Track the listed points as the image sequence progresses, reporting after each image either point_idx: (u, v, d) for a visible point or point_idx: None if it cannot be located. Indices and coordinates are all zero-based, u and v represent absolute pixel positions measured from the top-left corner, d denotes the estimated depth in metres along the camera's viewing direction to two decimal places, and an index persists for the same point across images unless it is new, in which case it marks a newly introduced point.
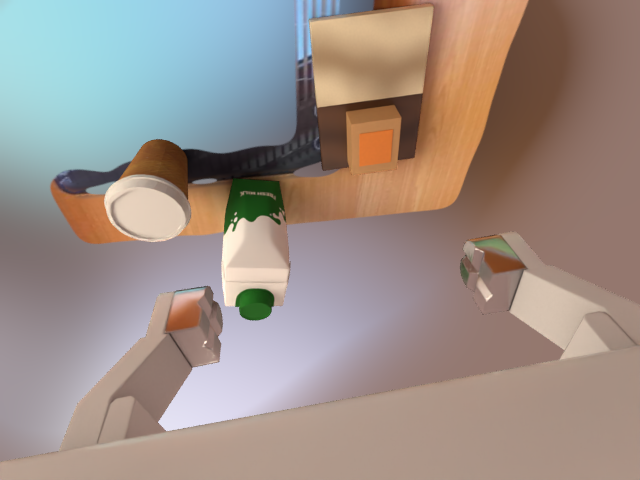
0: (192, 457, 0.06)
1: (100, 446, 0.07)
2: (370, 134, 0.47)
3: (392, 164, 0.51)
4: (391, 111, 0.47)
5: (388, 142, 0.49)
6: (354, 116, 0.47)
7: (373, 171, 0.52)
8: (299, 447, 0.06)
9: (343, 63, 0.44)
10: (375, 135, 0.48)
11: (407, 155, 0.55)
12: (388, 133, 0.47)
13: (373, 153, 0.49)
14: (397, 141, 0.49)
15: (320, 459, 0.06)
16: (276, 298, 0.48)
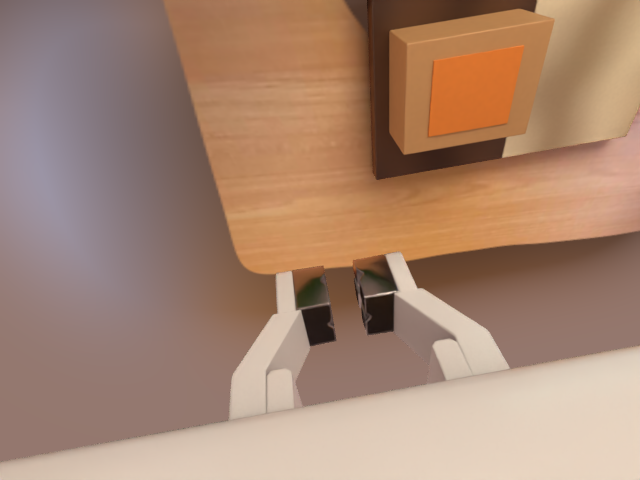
0: (192, 458, 0.06)
1: (100, 446, 0.07)
2: (511, 73, 0.21)
3: (419, 142, 0.23)
4: None
5: (477, 121, 0.22)
6: None
7: (409, 101, 0.21)
8: (299, 447, 0.06)
9: None
10: (505, 86, 0.21)
11: (384, 165, 0.28)
12: (502, 115, 0.22)
13: (461, 91, 0.21)
14: (475, 139, 0.23)
15: (320, 459, 0.06)
16: None
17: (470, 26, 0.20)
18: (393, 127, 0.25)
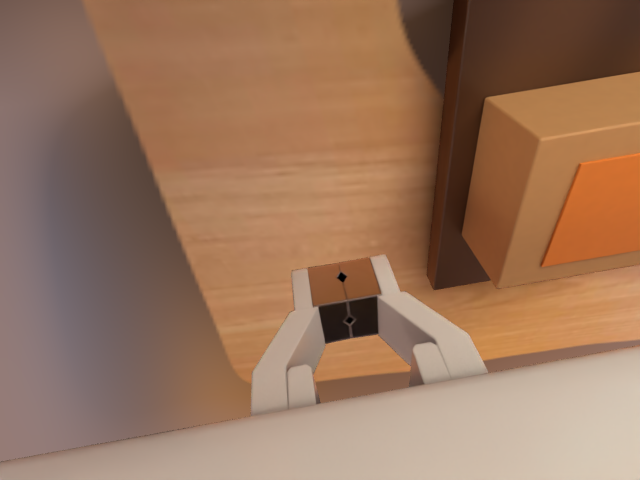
0: (192, 457, 0.06)
1: (100, 446, 0.07)
2: None
3: (525, 273, 0.14)
4: None
5: (624, 243, 0.14)
6: None
7: (522, 222, 0.12)
8: (299, 447, 0.06)
9: None
10: None
11: (447, 274, 0.19)
12: None
13: (613, 206, 0.12)
14: (612, 265, 0.14)
15: (320, 459, 0.06)
16: None
17: None
18: (474, 236, 0.16)
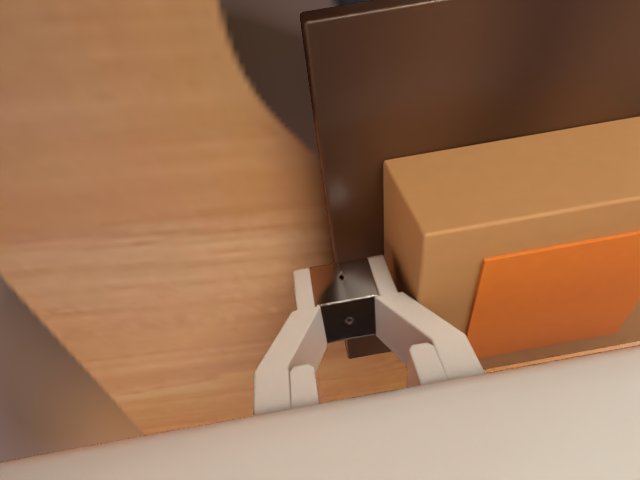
0: (192, 458, 0.06)
1: (100, 446, 0.07)
2: None
3: None
4: None
5: (559, 333, 0.11)
6: None
7: None
8: (299, 447, 0.06)
9: None
10: (629, 285, 0.10)
11: (360, 343, 0.16)
12: (611, 324, 0.11)
13: (536, 300, 0.10)
14: (549, 354, 0.12)
15: (320, 459, 0.06)
16: None
17: (565, 175, 0.09)
18: None
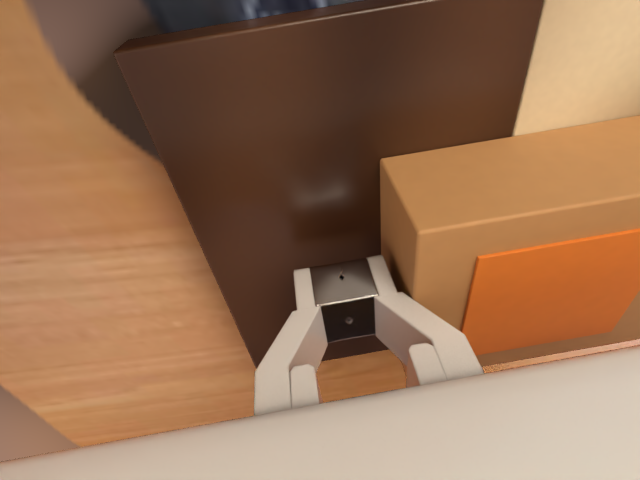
0: (191, 458, 0.06)
1: (100, 446, 0.07)
2: None
3: None
4: None
5: (554, 331, 0.11)
6: None
7: None
8: (299, 447, 0.06)
9: None
10: (623, 283, 0.10)
11: None
12: (606, 322, 0.11)
13: (531, 298, 0.10)
14: (544, 352, 0.12)
15: (320, 459, 0.06)
16: None
17: (559, 174, 0.09)
18: None
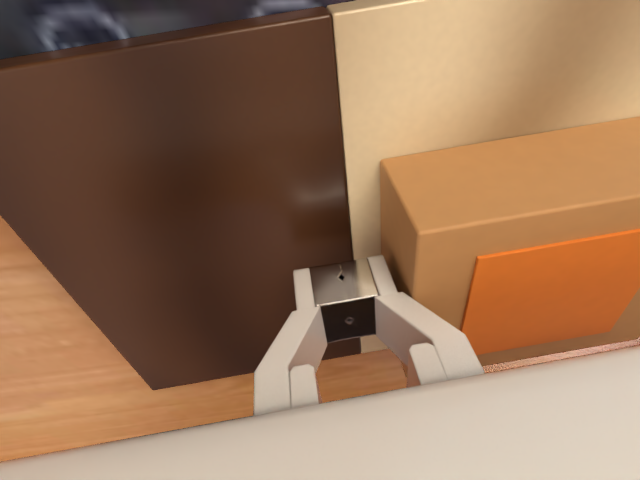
0: (191, 458, 0.06)
1: (100, 446, 0.07)
2: (638, 265, 0.10)
3: None
4: None
5: (552, 331, 0.11)
6: None
7: None
8: (299, 447, 0.06)
9: (519, 128, 0.11)
10: (622, 283, 0.10)
11: (155, 376, 0.16)
12: (604, 322, 0.11)
13: (529, 298, 0.10)
14: (543, 352, 0.12)
15: (320, 459, 0.06)
16: None
17: (558, 175, 0.09)
18: None
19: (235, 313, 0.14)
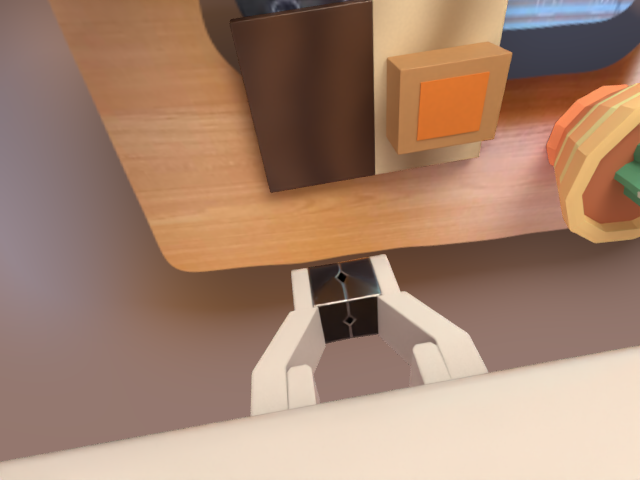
0: (192, 458, 0.06)
1: (100, 446, 0.07)
2: (480, 92, 0.27)
3: (410, 145, 0.29)
4: None
5: (455, 128, 0.29)
6: None
7: (402, 113, 0.27)
8: (299, 447, 0.06)
9: (439, 45, 0.28)
10: (477, 102, 0.27)
11: (274, 181, 0.33)
12: (475, 124, 0.28)
13: (442, 105, 0.27)
14: (454, 142, 0.29)
15: (320, 459, 0.06)
16: None
17: (449, 56, 0.26)
18: (389, 132, 0.31)
19: (319, 139, 0.31)
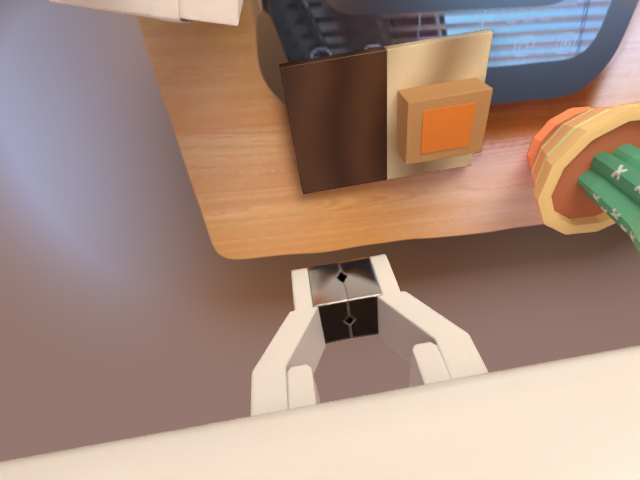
0: (191, 457, 0.06)
1: (100, 446, 0.07)
2: (469, 117, 0.35)
3: (415, 157, 0.37)
4: None
5: (450, 144, 0.37)
6: None
7: (409, 133, 0.36)
8: (299, 447, 0.06)
9: (438, 80, 0.36)
10: (466, 124, 0.36)
11: (307, 185, 0.42)
12: (466, 141, 0.37)
13: (440, 127, 0.35)
14: (449, 155, 0.38)
15: (320, 459, 0.06)
16: None
17: (445, 91, 0.34)
18: (399, 147, 0.39)
19: (343, 152, 0.40)
